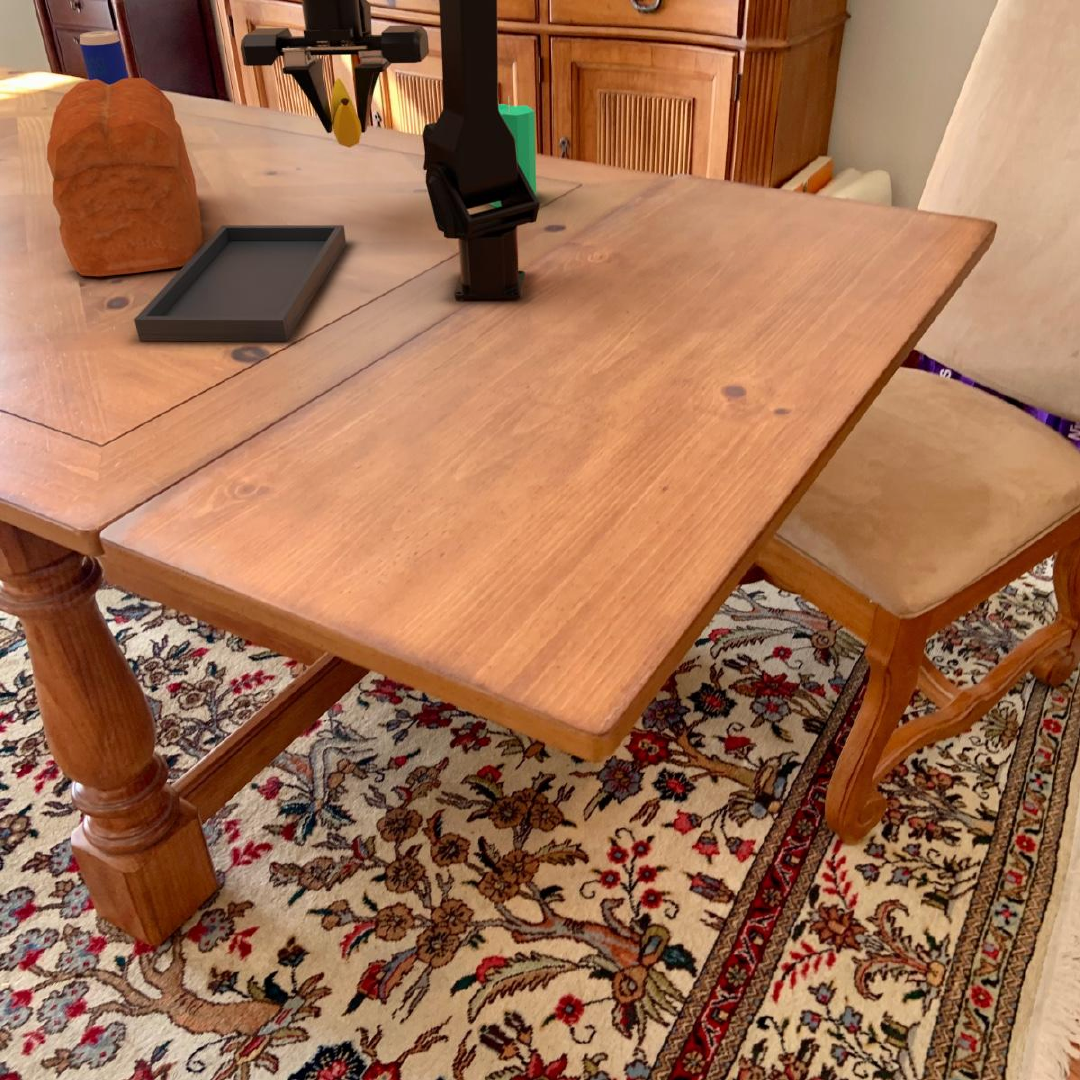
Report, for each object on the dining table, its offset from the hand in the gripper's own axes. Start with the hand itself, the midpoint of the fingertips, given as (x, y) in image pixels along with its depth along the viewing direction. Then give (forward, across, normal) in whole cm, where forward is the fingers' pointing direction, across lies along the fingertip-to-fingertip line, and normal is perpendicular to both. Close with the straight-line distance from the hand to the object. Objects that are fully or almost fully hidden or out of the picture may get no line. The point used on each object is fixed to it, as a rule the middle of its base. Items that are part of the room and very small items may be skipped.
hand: (347, 132), depth 112 cm
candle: (+11, -17, -10) cm, 22 cm away
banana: (+1, 0, 0) cm, 1 cm away
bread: (+10, +25, +3) cm, 27 cm away
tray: (+10, +7, +19) cm, 23 cm away
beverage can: (+10, +42, -34) cm, 54 cm away
